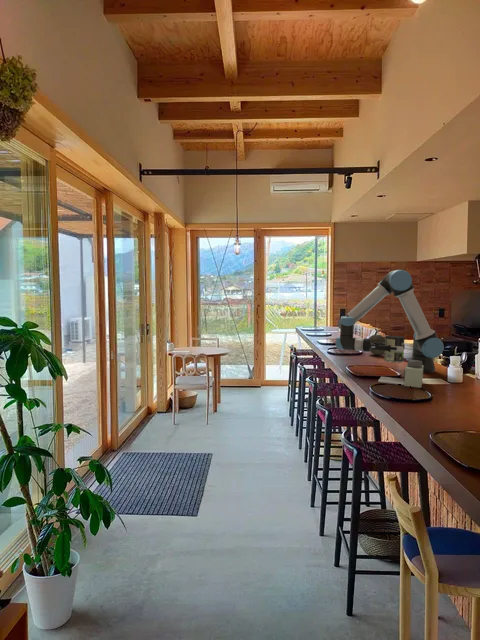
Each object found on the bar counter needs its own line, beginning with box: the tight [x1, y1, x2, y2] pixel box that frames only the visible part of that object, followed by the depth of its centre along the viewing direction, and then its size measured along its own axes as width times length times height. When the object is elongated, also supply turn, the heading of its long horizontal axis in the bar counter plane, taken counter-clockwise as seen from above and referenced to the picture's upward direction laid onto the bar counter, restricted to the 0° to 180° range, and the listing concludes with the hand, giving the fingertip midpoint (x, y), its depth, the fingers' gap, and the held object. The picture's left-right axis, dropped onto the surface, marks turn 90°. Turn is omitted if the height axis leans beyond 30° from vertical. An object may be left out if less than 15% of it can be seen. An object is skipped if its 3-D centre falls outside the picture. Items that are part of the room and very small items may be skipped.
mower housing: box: [377, 359, 424, 389], centre depth 235 cm, size 21×16×12 cm
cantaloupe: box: [367, 334, 386, 356], centre depth 325 cm, size 14×14×15 cm
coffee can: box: [384, 335, 406, 364], centre depth 252 cm, size 10×10×14 cm
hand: (404, 347), depth 250 cm, fingers closed on coffee can, 10 cm apart
